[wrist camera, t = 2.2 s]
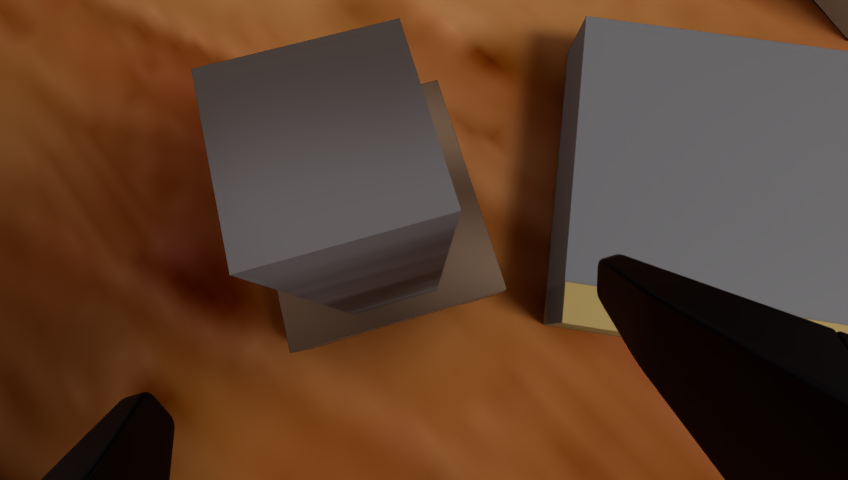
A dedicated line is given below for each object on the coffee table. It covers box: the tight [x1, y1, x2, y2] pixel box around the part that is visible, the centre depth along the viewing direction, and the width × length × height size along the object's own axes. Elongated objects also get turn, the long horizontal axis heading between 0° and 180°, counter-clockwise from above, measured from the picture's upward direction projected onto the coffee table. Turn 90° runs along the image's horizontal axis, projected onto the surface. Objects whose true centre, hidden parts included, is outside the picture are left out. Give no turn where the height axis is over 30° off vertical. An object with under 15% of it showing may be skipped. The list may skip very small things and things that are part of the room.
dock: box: [543, 16, 848, 337], centre depth 19 cm, size 14×13×3 cm
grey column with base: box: [191, 19, 507, 353], centre depth 13 cm, size 10×9×13 cm
